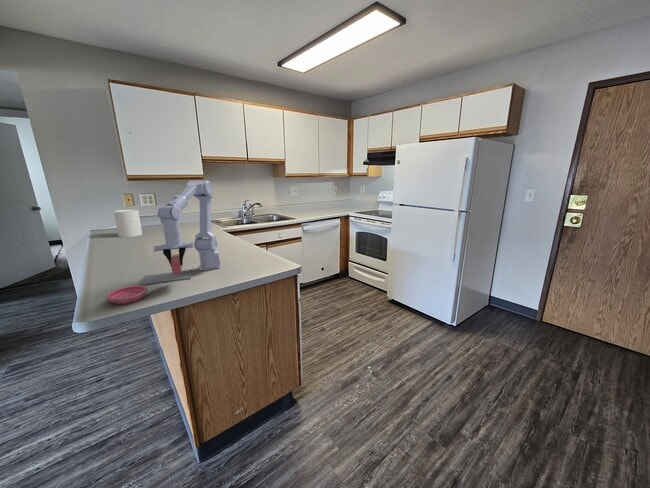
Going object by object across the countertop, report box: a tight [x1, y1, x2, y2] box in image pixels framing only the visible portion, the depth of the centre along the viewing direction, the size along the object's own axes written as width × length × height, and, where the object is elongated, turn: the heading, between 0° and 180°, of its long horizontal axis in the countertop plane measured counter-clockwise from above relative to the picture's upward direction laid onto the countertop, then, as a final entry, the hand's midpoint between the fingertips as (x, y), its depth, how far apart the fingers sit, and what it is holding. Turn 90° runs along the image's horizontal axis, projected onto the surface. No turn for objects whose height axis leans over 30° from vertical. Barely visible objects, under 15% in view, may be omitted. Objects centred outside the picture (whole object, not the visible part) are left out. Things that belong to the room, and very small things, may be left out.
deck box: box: [170, 253, 183, 274], centre depth 113 cm, size 3×9×6 cm, turn 26°
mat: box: [138, 269, 192, 286], centre depth 123 cm, size 20×12×1 cm, turn 114°
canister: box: [113, 209, 143, 238], centre depth 213 cm, size 16×16×20 cm
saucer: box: [106, 284, 148, 305], centre depth 102 cm, size 12×12×3 cm
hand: (176, 265), depth 113 cm, fingers closed on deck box, 3 cm apart
